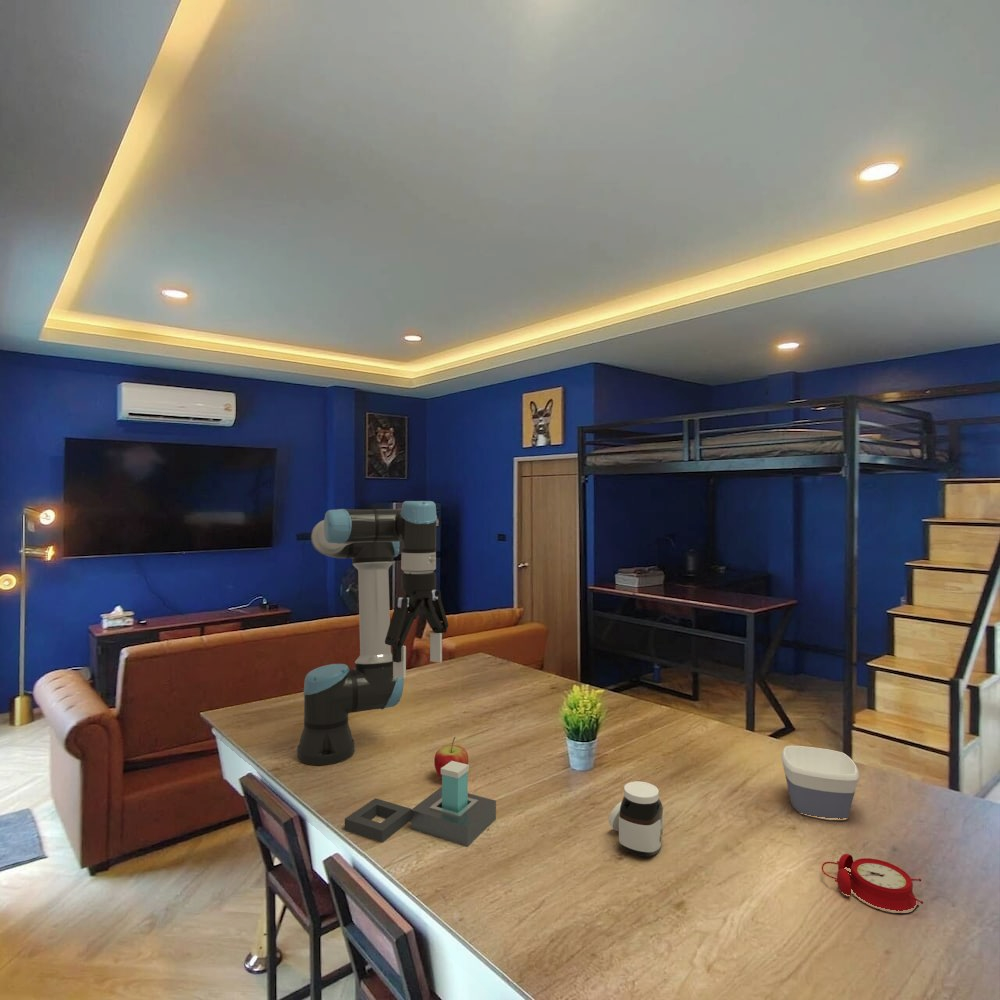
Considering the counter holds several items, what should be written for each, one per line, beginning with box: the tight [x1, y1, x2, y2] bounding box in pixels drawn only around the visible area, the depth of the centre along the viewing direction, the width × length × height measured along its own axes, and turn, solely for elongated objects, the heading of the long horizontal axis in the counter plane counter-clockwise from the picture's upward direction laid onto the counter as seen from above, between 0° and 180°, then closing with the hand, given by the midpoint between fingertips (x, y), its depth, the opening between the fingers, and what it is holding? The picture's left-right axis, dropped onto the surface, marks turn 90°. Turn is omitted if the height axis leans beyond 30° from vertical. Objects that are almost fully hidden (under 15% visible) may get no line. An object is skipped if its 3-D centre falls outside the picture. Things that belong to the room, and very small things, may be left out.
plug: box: [441, 761, 470, 813], centre depth 132 cm, size 4×4×12 cm
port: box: [410, 786, 497, 847], centre depth 131 cm, size 14×12×4 cm
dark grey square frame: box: [344, 798, 412, 843], centre depth 131 cm, size 10×10×2 cm
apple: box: [433, 736, 469, 780], centre depth 152 cm, size 8×8×10 cm
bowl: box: [781, 745, 860, 819], centre depth 139 cm, size 15×15×11 cm
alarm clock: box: [821, 853, 924, 911], centre depth 109 cm, size 10×6×15 cm
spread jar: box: [608, 780, 664, 858], centre depth 125 cm, size 12×11×12 cm
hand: (418, 669), depth 133 cm, fingers open, 13 cm apart
